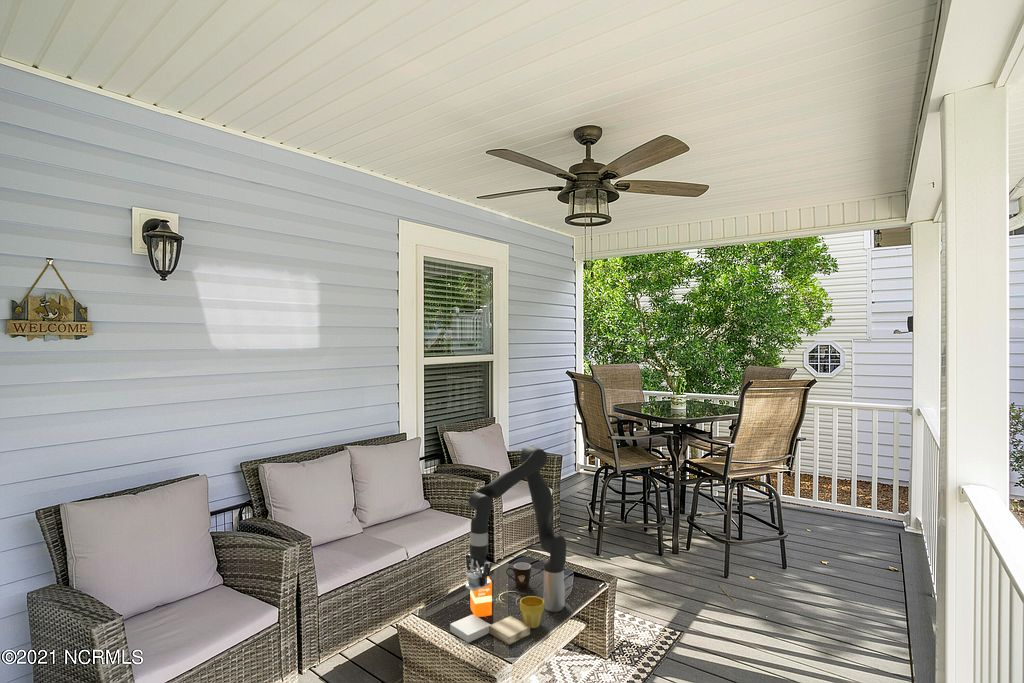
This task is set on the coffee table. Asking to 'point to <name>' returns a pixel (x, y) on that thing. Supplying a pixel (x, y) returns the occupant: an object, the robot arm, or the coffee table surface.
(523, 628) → the stand
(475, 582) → the block
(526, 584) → the coffee mug
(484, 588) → the orange juice
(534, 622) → the plant pot
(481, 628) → the stand
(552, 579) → the robot arm
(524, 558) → the coffee table surface
